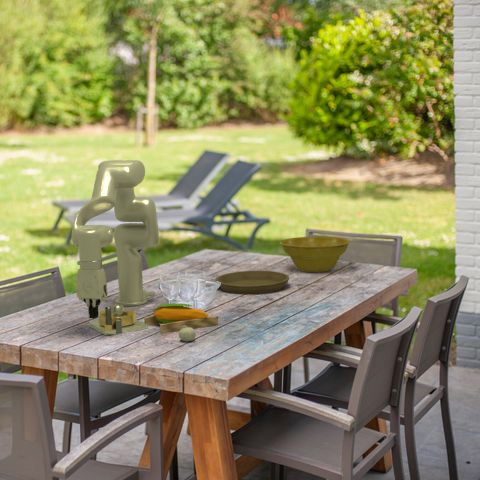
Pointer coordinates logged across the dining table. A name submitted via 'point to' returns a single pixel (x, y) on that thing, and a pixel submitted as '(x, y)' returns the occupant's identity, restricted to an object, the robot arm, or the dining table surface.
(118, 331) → the housing plate
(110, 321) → the tan angular piece
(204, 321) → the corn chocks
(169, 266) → the dining table surface
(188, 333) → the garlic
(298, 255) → the planter bowl
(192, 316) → the corn
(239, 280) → the plant saucer
